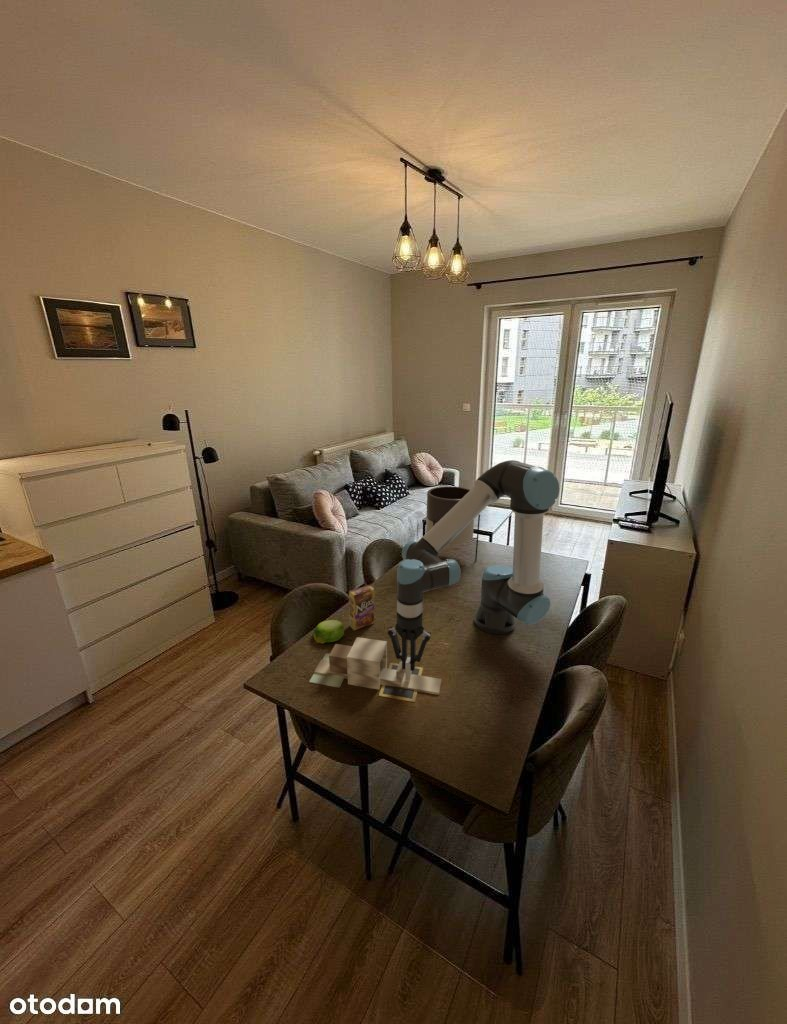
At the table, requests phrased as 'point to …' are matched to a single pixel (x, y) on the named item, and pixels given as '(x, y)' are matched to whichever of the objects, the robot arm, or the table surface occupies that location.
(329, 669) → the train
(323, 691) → the table surface
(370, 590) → the candy box
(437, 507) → the planter
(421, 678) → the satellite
